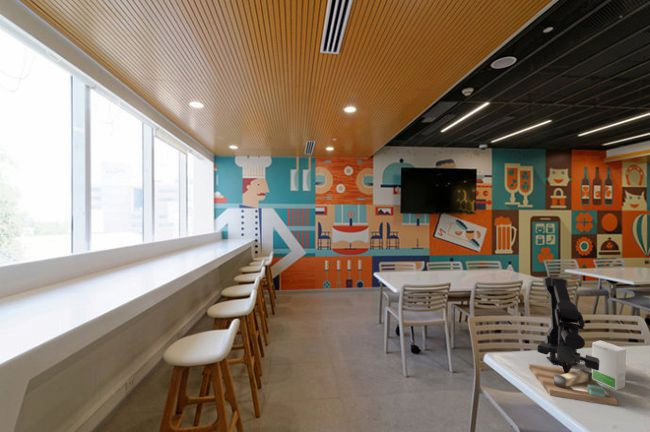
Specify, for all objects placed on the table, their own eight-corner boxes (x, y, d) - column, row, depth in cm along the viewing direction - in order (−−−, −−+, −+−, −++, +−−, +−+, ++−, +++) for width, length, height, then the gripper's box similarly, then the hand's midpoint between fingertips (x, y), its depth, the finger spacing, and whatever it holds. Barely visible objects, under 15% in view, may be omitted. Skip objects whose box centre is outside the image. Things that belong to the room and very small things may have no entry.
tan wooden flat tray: (528, 368, 124) (528, 357, 124) (583, 375, 118) (583, 364, 118) (550, 395, 105) (549, 382, 105) (616, 406, 99) (616, 392, 99)
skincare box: (590, 379, 115) (590, 342, 115) (600, 376, 117) (599, 339, 118) (617, 391, 107) (617, 350, 107) (627, 387, 109) (626, 348, 110)
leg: (561, 388, 105) (561, 380, 105) (551, 383, 109) (551, 375, 109) (593, 380, 110) (592, 373, 110) (582, 375, 114) (582, 368, 114)
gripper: (535, 336, 113) (534, 373, 114) (598, 354, 100) (597, 396, 100) (540, 328, 121) (539, 363, 122) (600, 343, 107) (598, 382, 108)
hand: (566, 375), depth 113 cm, fingers closed
